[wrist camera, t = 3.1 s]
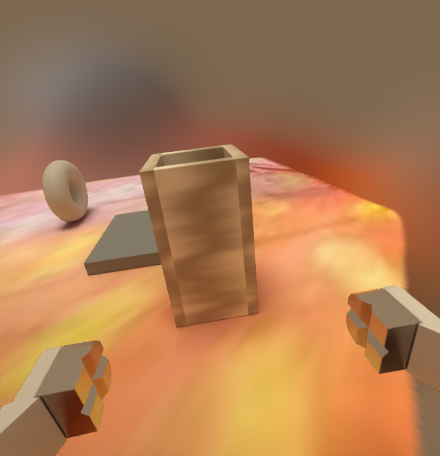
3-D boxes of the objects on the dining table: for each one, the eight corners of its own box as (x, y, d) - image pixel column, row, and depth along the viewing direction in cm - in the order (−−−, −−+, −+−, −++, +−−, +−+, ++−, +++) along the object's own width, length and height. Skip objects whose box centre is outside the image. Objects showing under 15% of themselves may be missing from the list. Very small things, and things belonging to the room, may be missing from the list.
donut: (77, 230, 40) (52, 165, 36) (54, 233, 40) (27, 168, 36) (96, 208, 49) (78, 154, 45) (78, 210, 49) (58, 156, 45)
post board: (88, 275, 28) (54, 187, 24) (118, 223, 41) (99, 160, 37) (252, 249, 29) (246, 161, 25) (231, 207, 42) (225, 144, 38)
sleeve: (176, 327, 20) (139, 172, 15) (178, 278, 26) (151, 154, 21) (258, 312, 20) (248, 157, 15) (242, 268, 26) (231, 144, 21)
